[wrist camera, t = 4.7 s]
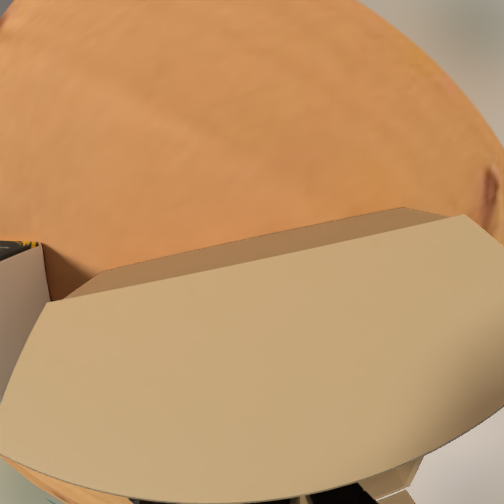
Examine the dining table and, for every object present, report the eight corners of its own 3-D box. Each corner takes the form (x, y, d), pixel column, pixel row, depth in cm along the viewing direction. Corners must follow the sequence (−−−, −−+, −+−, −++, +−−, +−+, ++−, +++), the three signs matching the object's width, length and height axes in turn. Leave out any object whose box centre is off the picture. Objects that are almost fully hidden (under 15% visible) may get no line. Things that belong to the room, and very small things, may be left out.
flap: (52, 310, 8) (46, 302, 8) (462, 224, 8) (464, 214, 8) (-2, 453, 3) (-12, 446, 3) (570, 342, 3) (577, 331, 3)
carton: (390, 445, 18) (409, 485, 13) (209, 481, 18) (205, 525, 13) (402, 207, 13) (466, 221, 8) (102, 271, 13) (48, 309, 8)
